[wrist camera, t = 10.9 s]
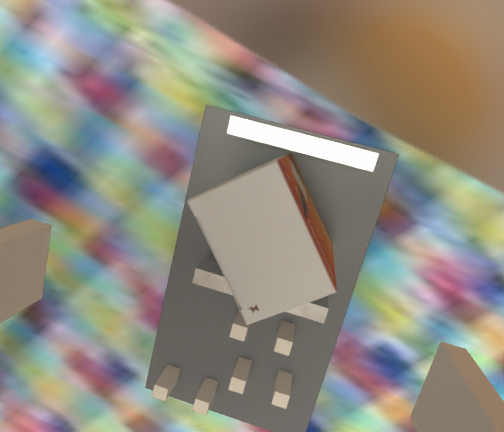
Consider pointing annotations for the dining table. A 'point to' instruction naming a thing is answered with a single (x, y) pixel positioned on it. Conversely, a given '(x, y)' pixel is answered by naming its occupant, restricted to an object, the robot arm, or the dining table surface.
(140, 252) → the dining table surface
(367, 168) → the end holder
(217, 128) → the board
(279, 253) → the small box
